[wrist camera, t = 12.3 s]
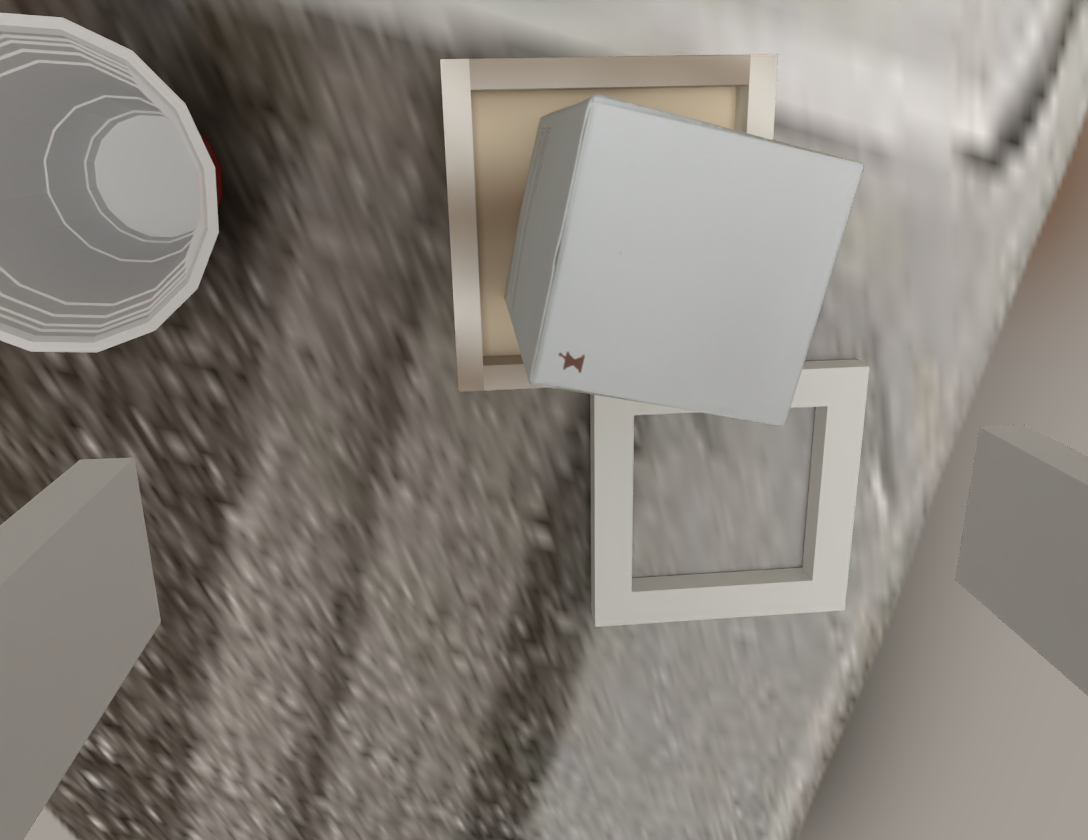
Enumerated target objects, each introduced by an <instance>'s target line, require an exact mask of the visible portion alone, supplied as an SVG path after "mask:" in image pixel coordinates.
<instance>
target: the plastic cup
mask: <svg viewBox="0 0 1088 840" xmlns="http://www.w3.org/2000/svg"><path fill="white" fill-rule="evenodd" d="M222 195H223V194H222V177H221V167H220V165H219V163H218V160H217V158H216V156H215V154H214V152H213V150H212V147H211V145H210V143H209V141H208V140H207V139H206V138H205V137H204V136H203V135H202V134H201V133H200V132H199V131H198V130H197V128H196V125H195V123H194V121H193V119H192V117H191V115H190V113H189V110H188V108H187V106H186V104H185V103H184V102H183V101H182V100H181V99H180V98H179V97H178V96H177V95H176V94H175V93H174V92H173V91H172V90H171V89H170V88H169V87H168V86H167V85H166V84H165V83H164V82H163V81H162V80H161V79H160V78H159V77H158V76H157V75H156V74H155V73H154V72H153V71H152V70H151V69H150V68H149V67H148V66H147V65H146V64H145V63H144V62H143V61H142V60H141V59H140V58H139V57H138V56H137V55H136V54H135V53H134V52H133V51H132V50H130V49H128V48H126V47H124V46H122V45H120V44H117V43H115V42H113V41H111V40H109V39H107V38H105V37H103V36H101V35H98V34H96V33H94V32H92V31H90V30H88V29H86V28H84V27H82V26H79V25H77V24H75V23H73V22H71V21H69V20H67V19H65V18H62V17H49V16H36V15H23V14H10V13H0V340H1V341H3V342H6V343H9V344H12V345H14V346H17V347H20V348H22V349H25V350H28V351H31V352H100V351H102V350H105V349H107V348H110V347H113V346H115V345H118V344H121V343H123V342H126V341H129V340H131V339H134V338H137V337H139V336H142V335H145V334H147V333H150V332H153V331H155V330H156V329H157V328H158V327H159V326H160V325H161V324H162V323H163V322H164V321H165V320H166V319H167V318H168V317H169V316H170V315H171V314H172V313H173V312H174V311H176V310H177V309H178V308H179V307H180V306H181V305H182V304H183V303H184V302H185V301H186V300H187V299H188V298H189V297H190V296H191V295H192V294H193V293H194V292H195V291H196V290H197V289H198V286H199V284H200V281H201V278H202V276H203V273H204V270H205V268H206V265H207V262H208V260H209V257H210V254H211V252H212V249H213V247H214V244H215V241H216V239H217V236H218V233H219V225H218V206H219V204H220V201H221V198H222Z"/></svg>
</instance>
